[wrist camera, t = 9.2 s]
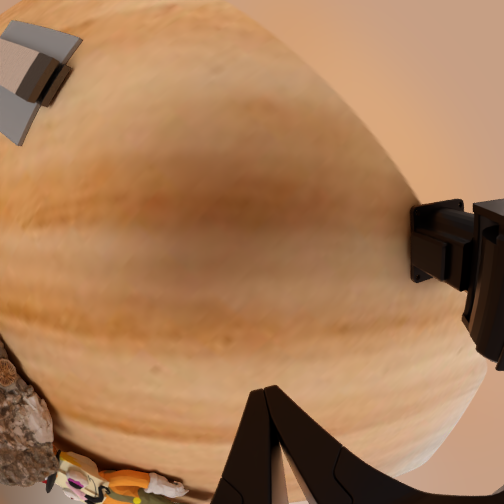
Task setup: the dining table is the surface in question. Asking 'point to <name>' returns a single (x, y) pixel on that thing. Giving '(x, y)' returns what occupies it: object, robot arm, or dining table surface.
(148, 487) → the toy
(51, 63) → the layered block
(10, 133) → the mat
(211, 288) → the dining table surface
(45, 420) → the rock
